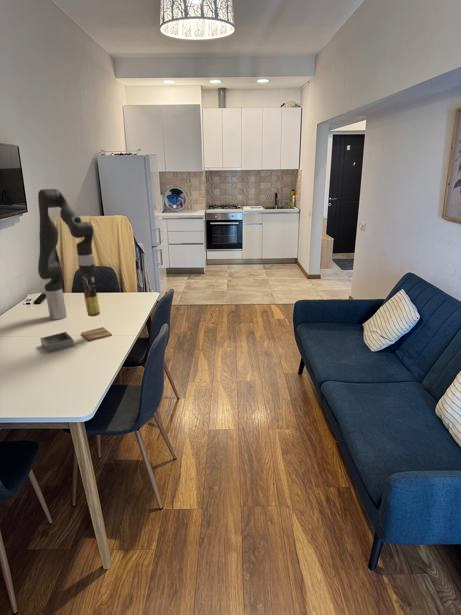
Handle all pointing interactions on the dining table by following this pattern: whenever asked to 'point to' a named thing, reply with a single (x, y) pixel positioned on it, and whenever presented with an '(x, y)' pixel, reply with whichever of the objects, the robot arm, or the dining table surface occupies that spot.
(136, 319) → the dining table surface
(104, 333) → the walnut board
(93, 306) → the sauce bottle
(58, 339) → the grey shallow box
